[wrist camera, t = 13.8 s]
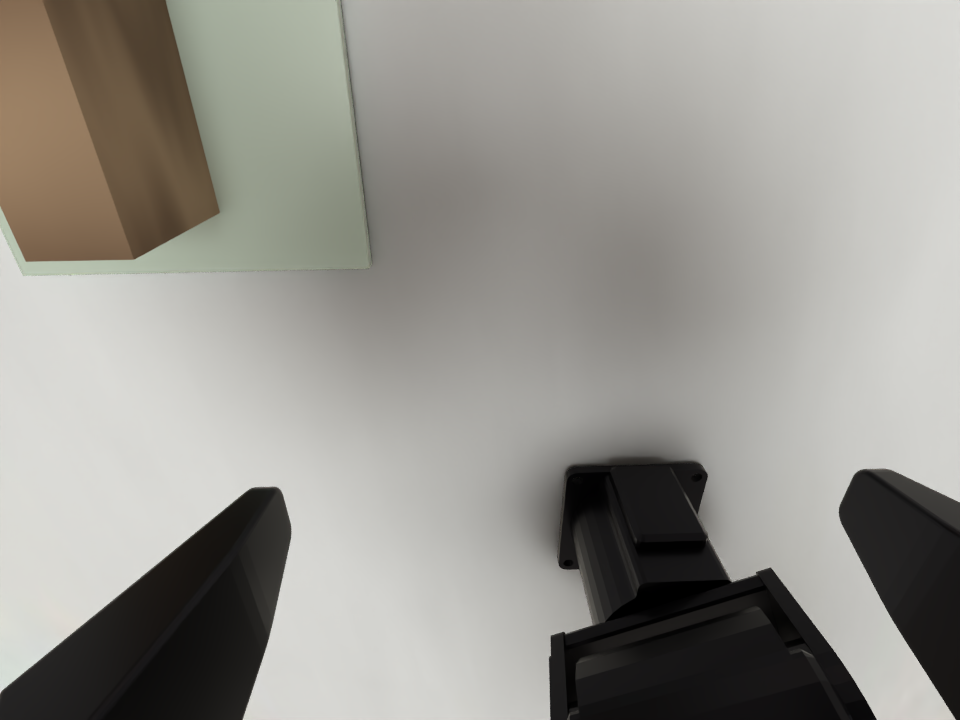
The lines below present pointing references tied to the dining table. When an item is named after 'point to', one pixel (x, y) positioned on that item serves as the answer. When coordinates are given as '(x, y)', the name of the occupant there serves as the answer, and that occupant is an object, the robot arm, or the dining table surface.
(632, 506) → the robot arm
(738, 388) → the dining table surface
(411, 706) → the dining table surface
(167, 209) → the brown wooden block
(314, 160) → the rest board
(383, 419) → the dining table surface
